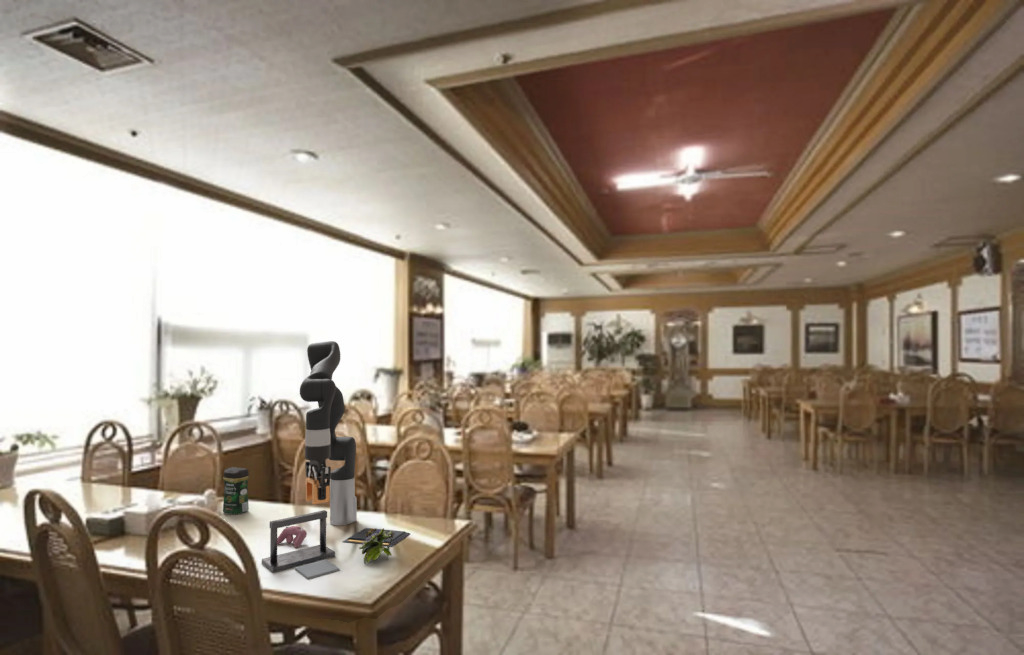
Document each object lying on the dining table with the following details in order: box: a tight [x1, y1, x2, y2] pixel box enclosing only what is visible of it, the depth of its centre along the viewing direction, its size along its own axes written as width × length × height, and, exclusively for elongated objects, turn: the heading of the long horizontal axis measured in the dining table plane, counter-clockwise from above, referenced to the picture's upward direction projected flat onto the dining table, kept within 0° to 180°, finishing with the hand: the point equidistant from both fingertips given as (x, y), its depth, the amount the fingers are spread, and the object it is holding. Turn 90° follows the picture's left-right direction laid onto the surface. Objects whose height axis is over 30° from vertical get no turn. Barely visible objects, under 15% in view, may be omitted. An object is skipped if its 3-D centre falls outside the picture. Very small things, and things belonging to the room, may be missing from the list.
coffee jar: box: [222, 466, 250, 515], centre depth 238 cm, size 10×8×19 cm
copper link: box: [305, 476, 330, 505], centre depth 177 cm, size 6×5×7 cm
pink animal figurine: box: [277, 525, 308, 549], centre depth 199 cm, size 10×5×7 cm, turn 67°
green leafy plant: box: [358, 527, 394, 565], centre depth 185 cm, size 11×11×12 cm
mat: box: [294, 559, 340, 580], centre depth 176 cm, size 10×10×1 cm
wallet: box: [342, 527, 411, 548], centre depth 205 cm, size 20×2×15 cm
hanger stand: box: [261, 509, 336, 574], centre depth 184 cm, size 10×20×14 cm, turn 132°
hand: (317, 497), depth 176 cm, fingers closed on copper link, 6 cm apart
